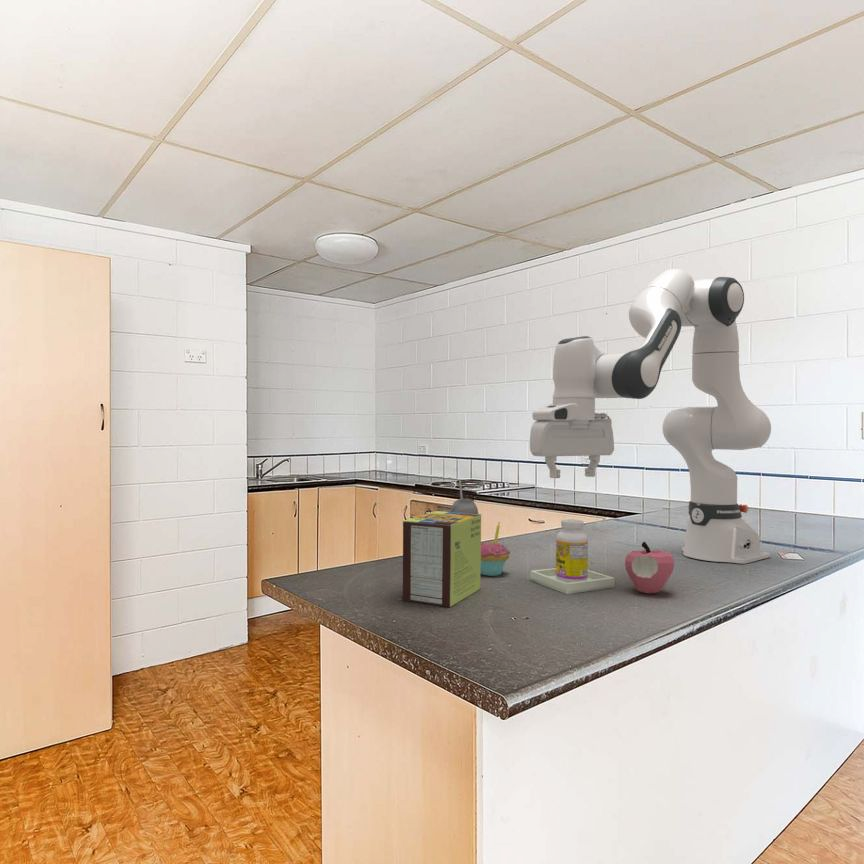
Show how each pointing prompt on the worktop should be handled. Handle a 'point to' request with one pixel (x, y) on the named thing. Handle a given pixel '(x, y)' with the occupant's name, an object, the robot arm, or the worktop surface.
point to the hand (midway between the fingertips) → (572, 477)
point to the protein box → (441, 557)
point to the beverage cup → (464, 504)
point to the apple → (649, 569)
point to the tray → (593, 582)
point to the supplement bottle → (571, 552)
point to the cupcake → (493, 557)
